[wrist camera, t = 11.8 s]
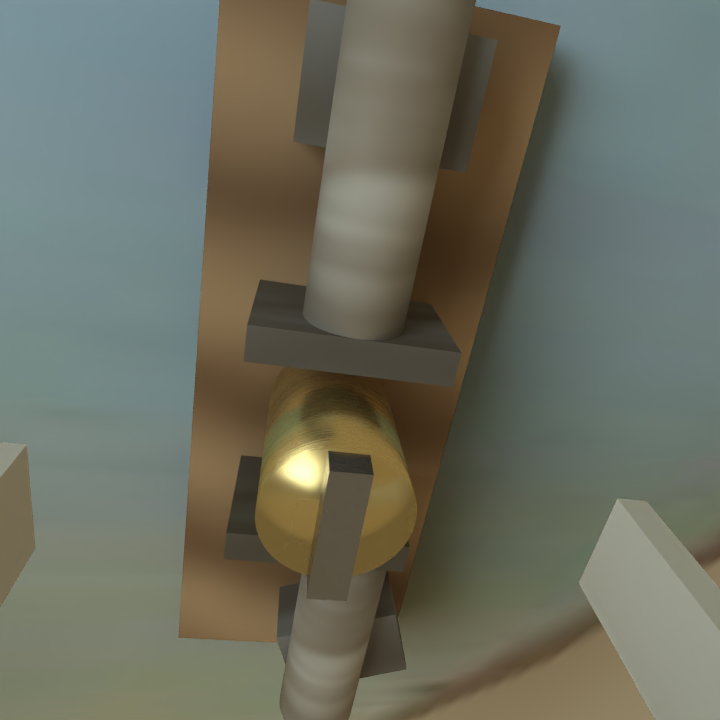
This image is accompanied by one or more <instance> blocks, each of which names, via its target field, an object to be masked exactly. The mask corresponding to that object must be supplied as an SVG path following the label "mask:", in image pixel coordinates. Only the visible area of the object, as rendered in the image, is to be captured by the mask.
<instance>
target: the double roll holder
mask: <svg viewBox="0 0 720 720" xmlns="http://www.w3.org/2000/svg"><path fill="white" fill-rule="evenodd" d="M475 2H476V0H220V3H219V18H218V34H217V49H216V65H215V80H214V96H213V111H212V127H211V142H210V158H209V173H208V189H207V204H206V220H205V235H204V251H203V267H202V282H201V298H200V313H199V329H198V344H197V360H196V375H195V391H194V406H193V422H192V437H191V453H190V468H189V484H188V499H187V515H186V530H185V546H184V561H183V577H182V592H181V608H180V623H179V638H196V639H216V640H236V641H256V642H276V643H278V644H279V647H280V650H281V653H282V655H283V658H284V661H285V664H286V665H285V671H284V677H283V683H282V688H281V694H280V709H281V712H282V715H283V717H284V719H285V720H348V719H349V716H350V713H351V709H352V705H353V701H354V698H355V694H356V690H357V686H358V682H359V678H364V677H369V676H374V675H379V674H384V673H389V672H394V671H399V670H404V669H406V663H405V658H404V652H403V646H402V641H401V635H400V629H399V623H398V616H399V612H400V608H401V605H402V601H403V598H404V594H405V590H406V587H407V583H408V579H409V576H410V572H411V568H412V565H413V561H414V558H415V554H416V550H417V547H418V543H419V539H420V536H421V532H422V528H423V525H424V521H425V518H426V514H427V510H428V507H429V503H430V499H431V496H432V492H433V488H434V485H435V481H436V478H437V474H438V470H439V467H440V463H441V459H442V456H443V452H444V448H445V445H446V441H447V438H448V434H449V430H450V427H451V423H452V419H453V416H454V412H455V408H456V405H457V401H458V398H459V394H460V390H461V387H462V383H463V379H464V376H465V372H466V368H467V365H468V361H469V358H470V354H471V350H472V347H473V343H474V339H475V336H476V332H477V328H478V325H479V321H480V318H481V314H482V310H483V307H484V303H485V299H486V296H487V292H488V288H489V285H490V281H491V277H492V274H493V270H494V267H495V263H496V259H497V256H498V252H499V248H500V245H501V241H502V237H503V234H504V230H505V227H506V223H507V219H508V216H509V212H510V208H511V205H512V201H513V197H514V194H515V190H516V187H517V183H518V179H519V176H520V172H521V168H522V165H523V161H524V157H525V154H526V150H527V147H528V143H529V139H530V136H531V132H532V128H533V125H534V121H535V117H536V114H537V110H538V107H539V103H540V99H541V96H542V92H543V88H544V85H545V81H546V77H547V74H548V70H549V67H550V63H551V59H552V56H553V52H554V48H555V45H556V41H557V37H558V34H559V30H560V27H561V26H559V25H555V24H550V23H546V22H542V21H537V20H533V19H528V18H524V17H520V16H515V15H511V14H506V13H502V12H498V11H493V10H489V9H485V8H480V7H476V6H475ZM284 367H292V368H300V369H308V370H316V371H325V372H333V373H341V374H349V375H357V376H365V377H374V378H381V379H382V381H383V383H384V386H385V390H386V393H387V397H388V400H389V404H390V408H391V411H392V415H393V419H394V422H395V426H396V429H397V433H398V437H399V440H400V444H401V447H402V451H403V455H404V458H405V462H406V465H407V469H408V473H409V476H410V480H411V483H412V487H413V491H414V494H415V498H416V504H417V517H416V522H415V526H414V529H413V532H412V534H411V536H410V538H409V540H408V541H407V542H406V544H405V545H404V547H403V548H402V549H401V550H400V551H399V552H398V553H397V554H396V555H395V556H394V557H393V558H391V559H390V560H389V561H387V562H386V563H384V564H383V565H381V566H379V567H377V568H375V569H374V570H371V571H369V572H366V573H363V574H360V575H356V576H352V579H351V584H350V588H349V593H348V597H347V601H335V600H318V599H307V575H304V574H301V573H298V572H296V571H293V570H291V569H289V568H287V567H286V566H284V565H282V564H281V563H280V562H278V561H277V560H276V559H275V558H273V557H272V556H271V554H270V553H269V552H268V551H267V550H266V548H265V547H264V546H263V544H262V542H261V540H260V538H259V536H258V533H257V529H256V524H255V509H256V502H257V494H258V486H259V479H260V471H261V464H262V456H263V448H264V441H265V433H266V425H267V418H268V410H269V403H270V395H271V390H272V387H273V384H274V381H275V380H276V378H277V376H278V374H279V373H280V372H281V370H282V369H283V368H284Z"/></svg>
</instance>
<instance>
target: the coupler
mask: <svg viewBox="0 0 720 720" xmlns="http://www.w3.org/2000/svg"><path fill="white" fill-rule="evenodd" d="M416 517H417V504H416V498H415V494H414V491H413V487H412V483H411V480H410V476H409V473H408V469H407V465H406V462H405V458H404V455H403V451H402V447H401V444H400V440H399V437H398V433H397V429H396V426H395V422H394V419H393V415H392V411H391V408H390V404H389V400H388V397H387V393H386V390H385V386H384V383H383V381H382V379H381V378H374V377H365V376H357V375H349V374H341V373H333V372H325V371H316V370H308V369H300V368H292V367H284V368H283V369H282V370H281V372H280V373H279V374H278V376H277V378H276V380H275V381H274V384H273V387H272V390H271V395H270V403H269V410H268V418H267V425H266V433H265V441H264V448H263V456H262V464H261V471H260V479H259V486H258V494H257V502H256V509H255V524H256V529H257V533H258V536H259V538H260V540H261V542H262V544H263V546H264V547H265V548H266V550H267V551H268V552H269V553H270V554H271V556H272V557H273V558H275V559H276V560H277V561H278V562H280V563H281V564H282V565H284V566H286V567H287V568H289V569H291V570H293V571H296V572H298V573H301V574H304V575H307V599H318V600H335V601H347V597H348V593H349V588H350V584H351V579H352V576H356V575H360V574H363V573H366V572H369V571H371V570H374V569H375V568H377V567H379V566H381V565H383V564H384V563H386V562H387V561H389V560H390V559H391V558H393V557H394V556H395V555H396V554H397V553H398V552H399V551H400V550H401V549H402V548H403V547H404V545H405V544H406V542H407V541H408V540H409V538H410V536H411V534H412V532H413V529H414V526H415V522H416Z"/></svg>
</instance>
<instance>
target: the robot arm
mask: <svg viewBox="0 0 720 720" xmlns="http://www.w3.org/2000/svg"><path fill="white" fill-rule="evenodd" d="M34 549H35V538H34V526H33V514H32V502H31V490H30V478H29V467H28V455H27V445H25V444H14V443H3V442H0V606H1V605H2V603H3V601H4V600H5V598H6V596H7V595H8V593H9V591H10V590H11V588H12V586H13V585H14V583H15V581H16V580H17V578H18V576H19V575H20V573H21V571H22V570H23V568H24V566H25V564H26V563H27V561H28V559H29V558H30V556H31V554H32V553H33V551H34ZM579 585H580V586H581V588H582V590H583V592H584V594H585V595H586V597H587V599H588V601H589V603H590V604H591V606H592V608H593V610H594V612H595V613H596V615H597V617H598V619H599V621H600V622H601V624H602V626H603V628H604V629H605V631H606V633H607V635H608V637H609V638H610V640H611V642H612V644H613V646H614V647H615V649H616V651H617V653H618V654H619V656H620V658H621V660H622V662H623V663H624V665H625V667H626V668H627V671H628V672H629V674H630V676H631V678H632V679H633V681H634V683H635V685H636V687H637V689H638V690H639V692H640V694H641V696H642V698H643V699H644V701H645V703H646V705H647V706H648V708H649V709H650V712H651V714H652V715H653V717H654V719H655V720H720V589H719V587H718V586H717V585H716V584H715V582H714V581H713V580H712V579H711V578H710V577H709V575H708V574H707V573H706V572H705V571H704V569H703V568H702V567H701V566H700V565H699V563H698V562H697V561H696V560H695V559H694V557H693V556H692V555H691V554H690V553H689V551H688V550H687V549H686V548H685V547H684V545H683V544H682V543H681V542H680V541H679V539H678V538H677V537H676V536H675V535H674V533H673V532H672V531H671V530H670V529H669V528H668V526H667V525H666V524H665V523H664V522H663V520H662V519H661V518H660V517H659V516H658V514H657V513H656V512H655V511H654V510H653V508H652V507H651V506H650V505H649V504H648V502H647V501H639V500H628V499H617V501H616V503H615V505H614V507H613V509H612V512H611V514H610V516H609V518H608V520H607V522H606V525H605V527H604V529H603V531H602V533H601V536H600V538H599V540H598V542H597V544H596V546H595V549H594V551H593V553H592V555H591V557H590V560H589V562H588V564H587V566H586V568H585V571H584V573H583V575H582V577H581V579H580V581H579Z"/></svg>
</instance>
